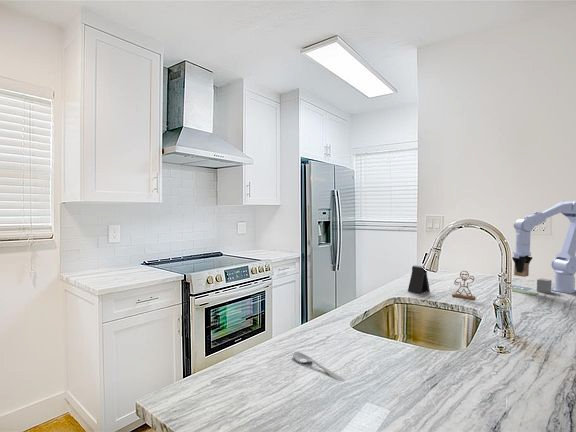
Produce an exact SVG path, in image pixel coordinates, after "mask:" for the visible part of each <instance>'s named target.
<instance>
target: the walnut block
mask: <svg viewBox="0 0 576 432" xmlns="http://www.w3.org/2000/svg"><path fill="white" fill-rule="evenodd" d="M529 268H530V263H525V264H524V268H523V272H522V273H520V272H517V270H516V266H515V265H514V270H513V271H514V273H513V274H514V275H513V276H515V277H522V278H523V277H524V278H525V277H528V276H529V275H530V273H529V272H530V269H529Z"/></svg>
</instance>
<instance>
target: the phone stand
mask: <svg viewBox="0 0 576 432" xmlns="http://www.w3.org/2000/svg"><path fill="white" fill-rule="evenodd" d="M422 267H423V266H421V265H412V268H411V274H410V280H409V284H408V287H407V288H408V289H407V292H409V293H414V294H418V295H421V294H425V293H428V292H431V289H430V285H429V284H430V283H429V279H428V272H427V271H428V270H427V271H425V270H424V269H423V268H422ZM424 292H425V293H424Z"/></svg>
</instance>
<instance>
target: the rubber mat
mask: <svg viewBox="0 0 576 432" xmlns="http://www.w3.org/2000/svg"><path fill="white" fill-rule="evenodd" d="M511 292H514V293H519V294H524V295H529V296H536V295H539V293H540V292H535V291H530V290H528V291H524V290H519V289H513V288H512V291H511Z"/></svg>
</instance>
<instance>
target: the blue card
mask: <svg viewBox="0 0 576 432" xmlns="http://www.w3.org/2000/svg"><path fill="white" fill-rule="evenodd" d="M511 286H512V288H513V289H519V290H524V291H530V290H533V289H534V288H532V287H526V286H521V285H513V284H512V285H511Z"/></svg>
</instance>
